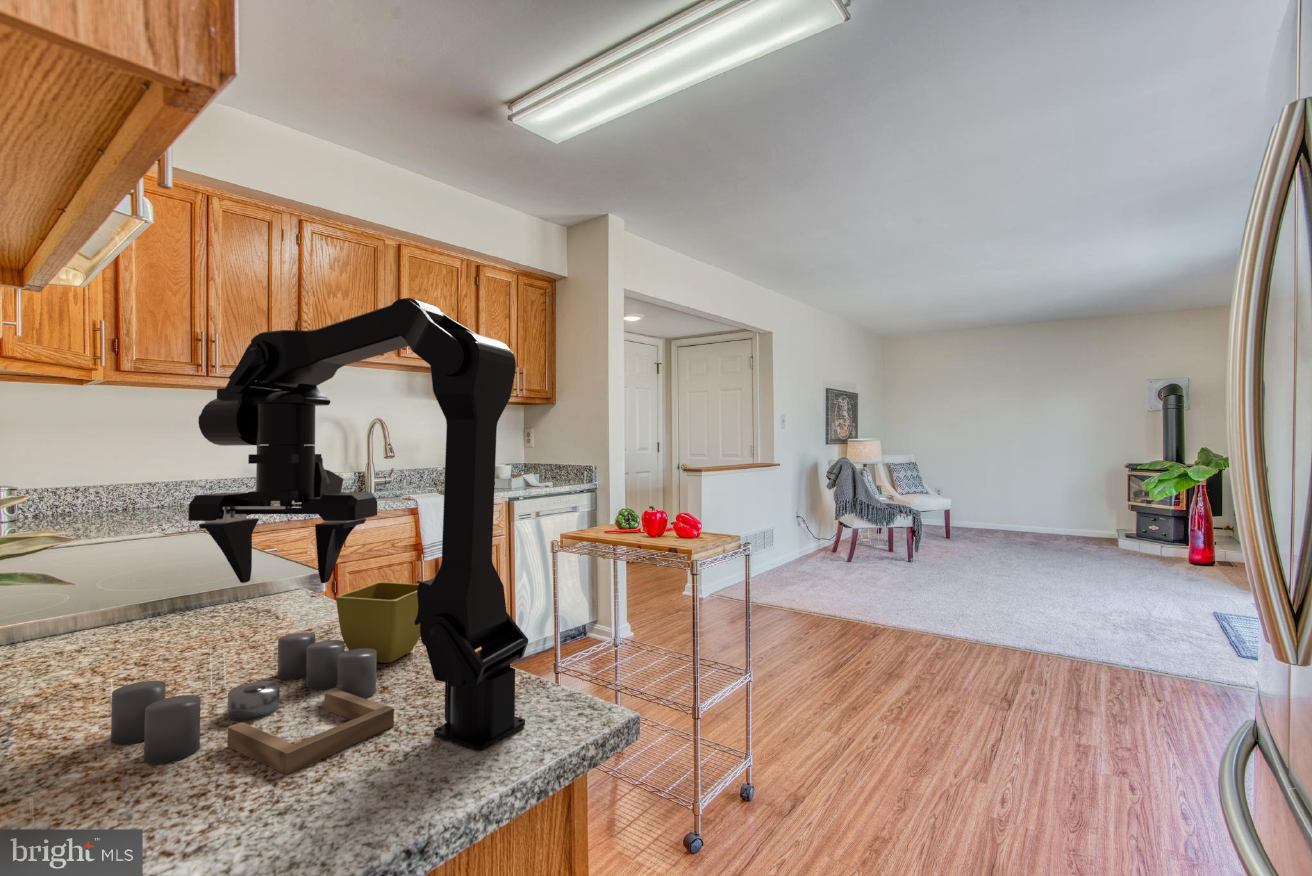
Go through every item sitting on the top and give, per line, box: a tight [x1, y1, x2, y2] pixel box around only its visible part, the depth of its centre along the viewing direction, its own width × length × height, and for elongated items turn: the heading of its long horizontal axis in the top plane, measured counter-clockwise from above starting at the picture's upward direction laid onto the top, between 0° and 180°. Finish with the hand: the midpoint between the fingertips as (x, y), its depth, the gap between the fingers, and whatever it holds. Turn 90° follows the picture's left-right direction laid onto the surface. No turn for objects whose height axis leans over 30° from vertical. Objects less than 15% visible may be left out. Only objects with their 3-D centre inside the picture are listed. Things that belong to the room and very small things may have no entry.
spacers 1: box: [110, 680, 202, 765], centre depth 58 cm, size 11×4×4 cm, turn 60°
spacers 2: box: [277, 631, 377, 699], centre depth 73 cm, size 16×4×4 cm, turn 60°
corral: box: [227, 688, 395, 776], centre depth 59 cm, size 10×11×2 cm
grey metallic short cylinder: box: [226, 680, 281, 723], centre depth 65 cm, size 5×5×3 cm
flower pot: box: [335, 581, 421, 664], centre depth 82 cm, size 9×9×9 cm
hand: (285, 582), depth 69 cm, fingers open, 9 cm apart
